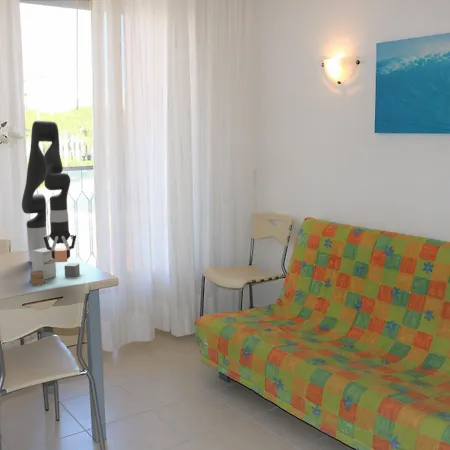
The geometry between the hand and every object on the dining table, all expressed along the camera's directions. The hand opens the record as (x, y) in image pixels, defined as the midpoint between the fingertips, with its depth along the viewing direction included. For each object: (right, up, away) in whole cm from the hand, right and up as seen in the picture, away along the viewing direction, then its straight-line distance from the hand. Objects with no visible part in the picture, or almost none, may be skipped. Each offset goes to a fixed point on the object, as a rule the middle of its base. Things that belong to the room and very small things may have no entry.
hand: (61, 258), depth 262 cm
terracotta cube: (0, -1, 0) cm, 1 cm away
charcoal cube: (+2, -8, +12) cm, 15 cm away
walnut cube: (-10, -11, -1) cm, 15 cm away
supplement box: (-10, -9, +9) cm, 16 cm away
